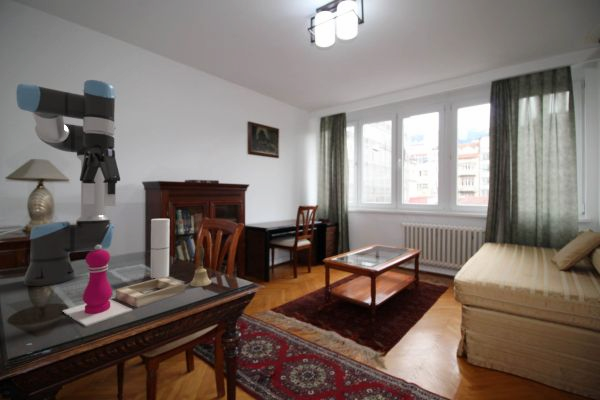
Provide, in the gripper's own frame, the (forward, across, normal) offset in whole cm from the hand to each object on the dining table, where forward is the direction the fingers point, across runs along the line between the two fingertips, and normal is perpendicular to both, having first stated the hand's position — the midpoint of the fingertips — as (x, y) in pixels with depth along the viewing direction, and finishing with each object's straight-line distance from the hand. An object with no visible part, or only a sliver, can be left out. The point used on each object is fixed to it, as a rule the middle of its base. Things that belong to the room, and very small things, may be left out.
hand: (98, 205), depth 81 cm
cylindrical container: (+33, +18, -30) cm, 48 cm away
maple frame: (+33, 0, -16) cm, 37 cm away
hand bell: (+33, -4, -34) cm, 48 cm away
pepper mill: (+32, 0, 0) cm, 32 cm away
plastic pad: (+33, 0, 0) cm, 33 cm away
